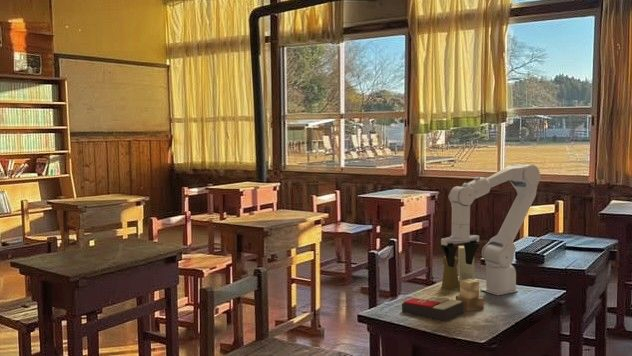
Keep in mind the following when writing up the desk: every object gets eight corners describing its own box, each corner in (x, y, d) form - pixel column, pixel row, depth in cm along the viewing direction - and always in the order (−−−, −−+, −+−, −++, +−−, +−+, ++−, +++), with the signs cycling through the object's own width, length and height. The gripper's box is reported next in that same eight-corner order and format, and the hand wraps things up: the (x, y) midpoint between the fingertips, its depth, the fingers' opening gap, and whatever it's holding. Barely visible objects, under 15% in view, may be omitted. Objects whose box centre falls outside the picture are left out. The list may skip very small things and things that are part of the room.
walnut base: (471, 304, 190) (471, 293, 189) (483, 309, 184) (483, 298, 184) (455, 306, 188) (455, 295, 187) (467, 311, 182) (467, 300, 182)
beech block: (469, 294, 188) (469, 278, 188) (478, 297, 185) (479, 281, 185) (459, 296, 186) (460, 280, 186) (469, 299, 183) (469, 282, 183)
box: (472, 280, 218) (472, 245, 217) (474, 283, 213) (474, 247, 212) (457, 280, 218) (457, 245, 217) (459, 283, 214) (459, 247, 213)
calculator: (421, 293, 190) (463, 299, 180) (422, 307, 191) (464, 313, 180) (400, 301, 182) (444, 307, 172) (401, 315, 183) (444, 322, 172)
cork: (462, 286, 210) (462, 255, 209) (453, 290, 205) (453, 258, 204) (447, 284, 214) (447, 253, 213) (438, 287, 209) (438, 256, 209)
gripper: (468, 220, 203) (468, 260, 204) (435, 223, 196) (434, 265, 197) (484, 223, 196) (483, 264, 197) (449, 226, 189) (449, 269, 190)
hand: (460, 265), depth 197 cm, fingers open, 7 cm apart
